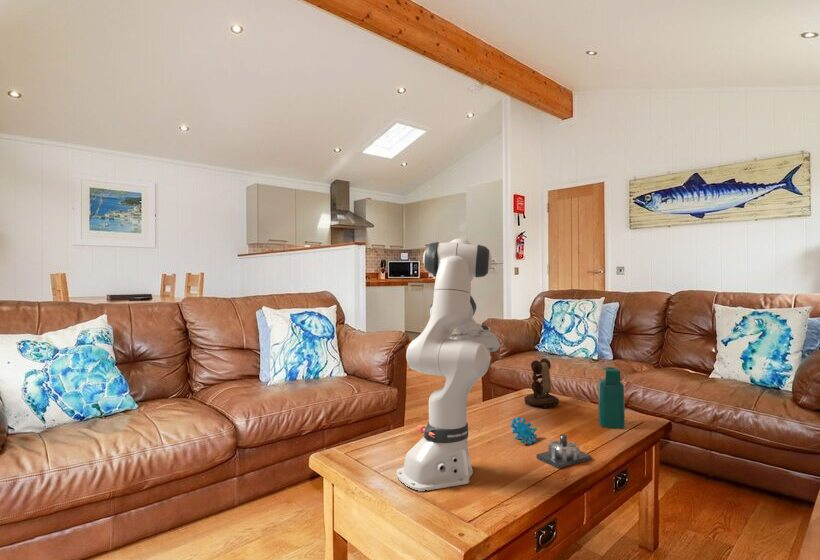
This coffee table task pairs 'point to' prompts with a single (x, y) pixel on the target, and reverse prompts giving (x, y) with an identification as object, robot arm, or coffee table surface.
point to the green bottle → (611, 399)
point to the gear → (523, 431)
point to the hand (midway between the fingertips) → (484, 360)
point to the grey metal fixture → (563, 453)
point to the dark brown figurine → (541, 385)
